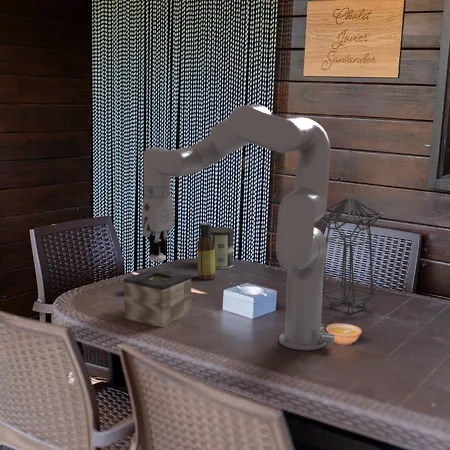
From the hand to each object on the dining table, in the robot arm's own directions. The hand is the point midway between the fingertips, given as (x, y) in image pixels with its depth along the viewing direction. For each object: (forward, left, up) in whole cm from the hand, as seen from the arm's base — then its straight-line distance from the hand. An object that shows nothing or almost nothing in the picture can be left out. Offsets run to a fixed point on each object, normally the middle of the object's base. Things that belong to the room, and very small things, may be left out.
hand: (157, 253), depth 200 cm
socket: (0, 0, -19) cm, 19 cm away
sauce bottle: (+11, -42, -19) cm, 48 cm away
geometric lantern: (-43, -39, -19) cm, 61 cm away
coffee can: (+16, -59, -19) cm, 64 cm away
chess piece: (0, 0, -2) cm, 2 cm away
